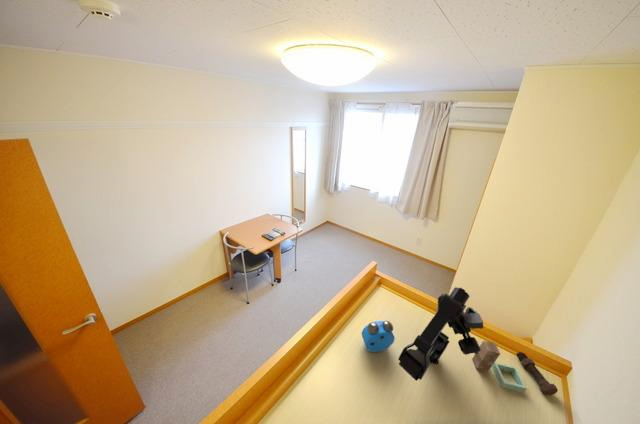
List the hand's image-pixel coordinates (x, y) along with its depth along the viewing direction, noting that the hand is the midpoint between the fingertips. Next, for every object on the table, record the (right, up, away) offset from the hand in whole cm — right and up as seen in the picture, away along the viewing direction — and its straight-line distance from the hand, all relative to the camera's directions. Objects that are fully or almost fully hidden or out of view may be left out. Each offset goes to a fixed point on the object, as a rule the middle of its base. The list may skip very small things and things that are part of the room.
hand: (472, 342), depth 91 cm
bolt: (+27, -15, +3) cm, 31 cm away
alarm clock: (-37, -8, +11) cm, 39 cm away
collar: (+15, -15, +1) cm, 21 cm away
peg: (+7, -13, +5) cm, 15 cm away
